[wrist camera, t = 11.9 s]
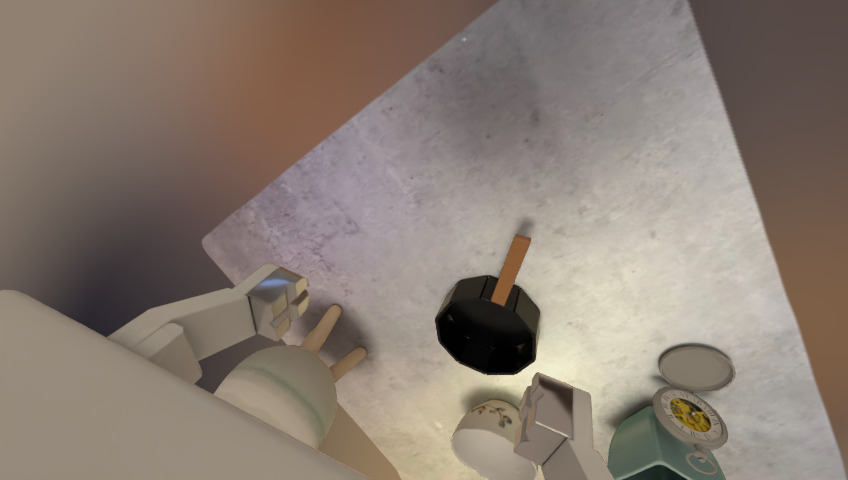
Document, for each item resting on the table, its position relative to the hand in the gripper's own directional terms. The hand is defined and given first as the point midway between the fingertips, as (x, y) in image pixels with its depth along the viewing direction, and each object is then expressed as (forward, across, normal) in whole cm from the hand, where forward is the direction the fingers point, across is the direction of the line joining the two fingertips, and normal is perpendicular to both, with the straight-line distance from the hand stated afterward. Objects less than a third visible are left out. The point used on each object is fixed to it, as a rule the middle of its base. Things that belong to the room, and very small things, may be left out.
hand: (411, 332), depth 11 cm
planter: (+27, +20, +41) cm, 53 cm away
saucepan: (+27, -4, +19) cm, 33 cm away
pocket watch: (+26, -26, +21) cm, 43 cm away
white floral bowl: (+26, -11, +44) cm, 52 cm away
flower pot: (+26, -28, +31) cm, 49 cm away
